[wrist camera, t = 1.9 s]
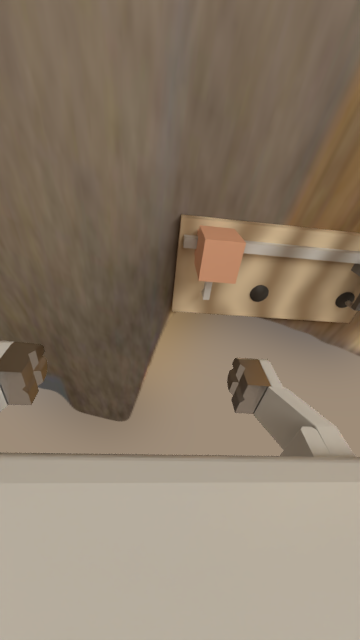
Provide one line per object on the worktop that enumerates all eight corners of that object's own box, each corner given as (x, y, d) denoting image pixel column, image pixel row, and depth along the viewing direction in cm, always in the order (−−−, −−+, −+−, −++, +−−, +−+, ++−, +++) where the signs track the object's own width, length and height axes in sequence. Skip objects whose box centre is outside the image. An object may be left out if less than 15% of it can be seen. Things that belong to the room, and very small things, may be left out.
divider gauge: (393, 236, 32) (451, 259, 25) (344, 317, 39) (379, 351, 33) (181, 214, 29) (184, 233, 23) (171, 305, 37) (172, 340, 30)
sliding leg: (232, 226, 28) (246, 242, 23) (217, 293, 34) (226, 319, 29) (198, 222, 28) (205, 239, 23) (188, 291, 33) (192, 317, 28)
